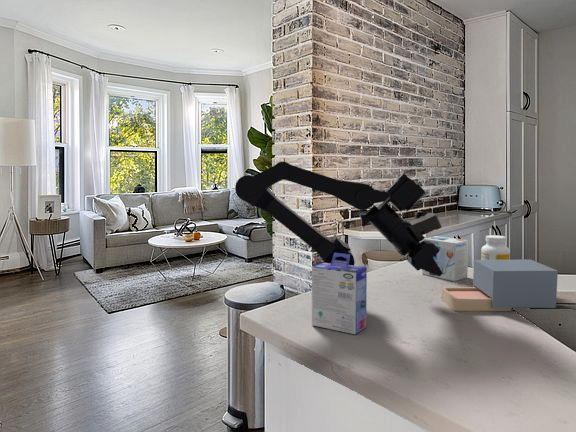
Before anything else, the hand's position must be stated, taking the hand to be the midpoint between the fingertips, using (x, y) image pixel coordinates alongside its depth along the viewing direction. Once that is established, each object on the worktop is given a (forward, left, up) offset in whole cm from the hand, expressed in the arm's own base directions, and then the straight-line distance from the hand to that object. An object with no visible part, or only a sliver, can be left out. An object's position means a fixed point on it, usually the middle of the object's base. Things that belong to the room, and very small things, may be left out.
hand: (440, 274), depth 93 cm
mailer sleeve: (+14, -8, -7) cm, 17 cm away
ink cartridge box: (-27, 0, -7) cm, 28 cm away
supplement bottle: (+24, +4, -7) cm, 25 cm away
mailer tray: (+7, -4, -7) cm, 10 cm away
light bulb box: (+20, +17, -7) cm, 27 cm away
